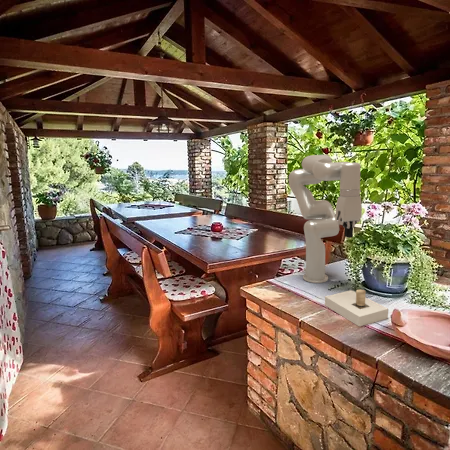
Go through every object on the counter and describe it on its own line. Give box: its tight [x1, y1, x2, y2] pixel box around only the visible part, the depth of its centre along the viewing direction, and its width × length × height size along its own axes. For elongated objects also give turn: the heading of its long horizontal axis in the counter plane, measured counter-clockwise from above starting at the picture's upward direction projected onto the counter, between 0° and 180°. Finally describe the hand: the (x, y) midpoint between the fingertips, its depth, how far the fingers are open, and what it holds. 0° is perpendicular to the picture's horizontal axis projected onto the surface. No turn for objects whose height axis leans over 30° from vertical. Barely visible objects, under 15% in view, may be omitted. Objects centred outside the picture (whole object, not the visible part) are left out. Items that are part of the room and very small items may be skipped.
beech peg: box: [355, 288, 367, 309], centre depth 128 cm, size 4×4×10 cm
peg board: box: [324, 289, 389, 328], centre depth 131 cm, size 20×14×4 cm
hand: (348, 236), depth 135 cm, fingers closed
